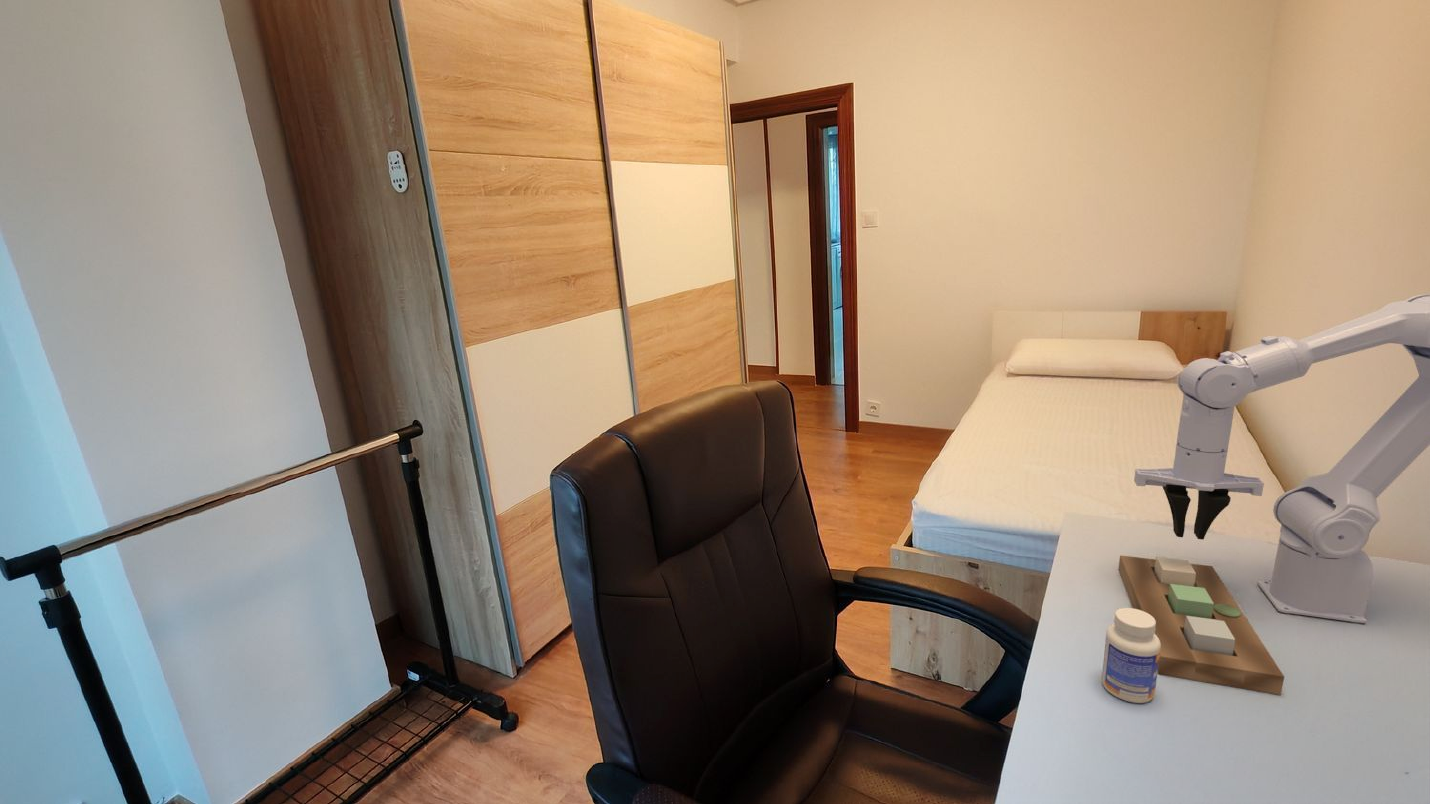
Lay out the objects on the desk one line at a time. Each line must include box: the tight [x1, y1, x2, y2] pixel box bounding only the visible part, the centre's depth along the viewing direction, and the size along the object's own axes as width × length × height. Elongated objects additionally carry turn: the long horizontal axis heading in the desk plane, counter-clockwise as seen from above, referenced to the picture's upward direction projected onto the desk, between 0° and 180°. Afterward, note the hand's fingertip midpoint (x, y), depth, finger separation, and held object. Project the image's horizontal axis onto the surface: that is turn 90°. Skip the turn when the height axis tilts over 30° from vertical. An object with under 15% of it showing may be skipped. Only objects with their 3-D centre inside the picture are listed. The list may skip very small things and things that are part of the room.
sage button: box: [1167, 584, 1214, 619], centre depth 88 cm, size 4×4×3 cm
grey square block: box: [1183, 616, 1235, 656], centre depth 81 cm, size 4×4×3 cm
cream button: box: [1154, 556, 1196, 587], centre depth 95 cm, size 4×4×3 cm
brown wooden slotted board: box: [1118, 555, 1285, 696], centre depth 88 cm, size 12×26×3 cm, turn 158°
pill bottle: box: [1101, 607, 1161, 704], centre depth 76 cm, size 5×5×10 cm
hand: (1188, 535), depth 93 cm, fingers closed
